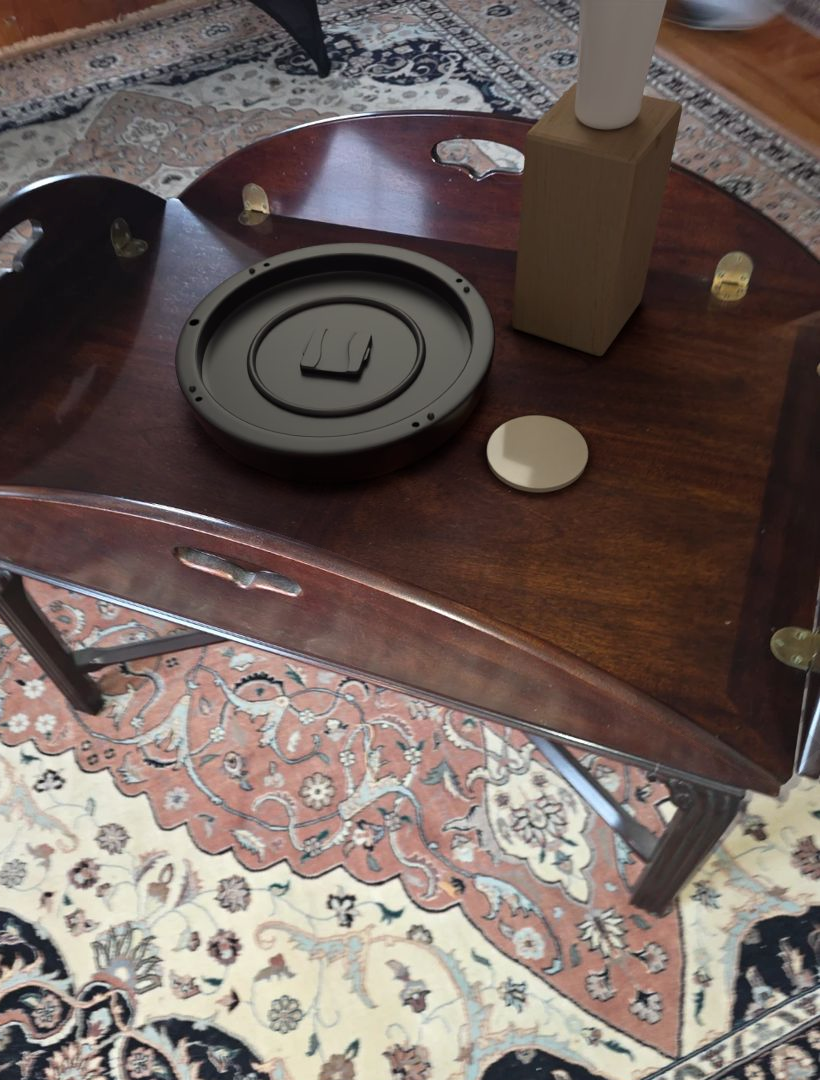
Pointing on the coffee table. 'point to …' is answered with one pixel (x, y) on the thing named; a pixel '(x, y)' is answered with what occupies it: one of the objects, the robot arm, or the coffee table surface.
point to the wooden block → (589, 221)
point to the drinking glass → (614, 59)
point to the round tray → (336, 360)
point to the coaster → (537, 453)
